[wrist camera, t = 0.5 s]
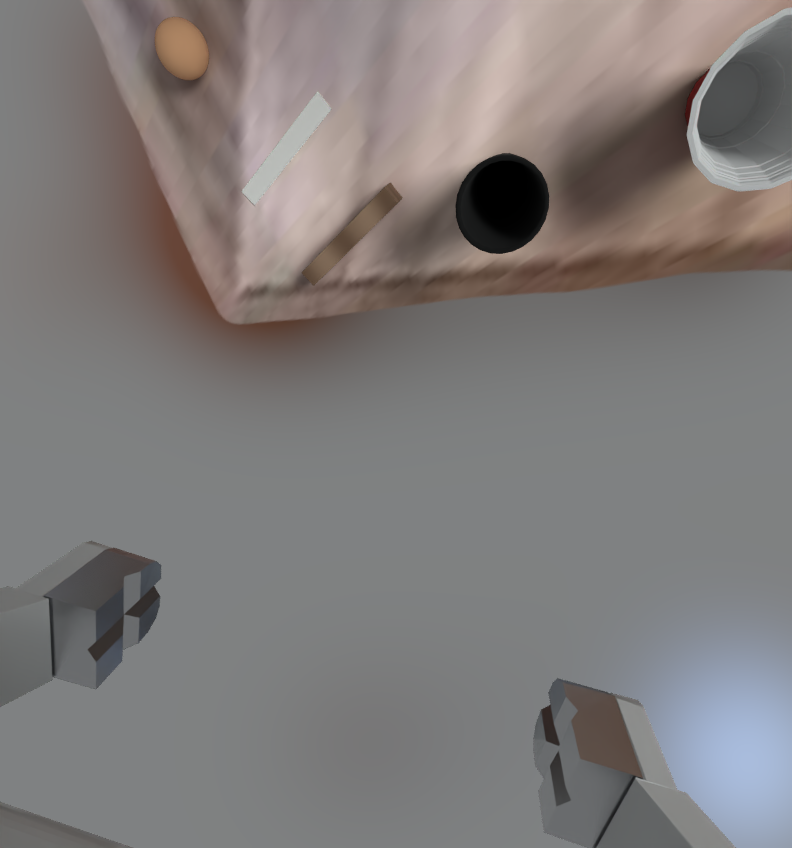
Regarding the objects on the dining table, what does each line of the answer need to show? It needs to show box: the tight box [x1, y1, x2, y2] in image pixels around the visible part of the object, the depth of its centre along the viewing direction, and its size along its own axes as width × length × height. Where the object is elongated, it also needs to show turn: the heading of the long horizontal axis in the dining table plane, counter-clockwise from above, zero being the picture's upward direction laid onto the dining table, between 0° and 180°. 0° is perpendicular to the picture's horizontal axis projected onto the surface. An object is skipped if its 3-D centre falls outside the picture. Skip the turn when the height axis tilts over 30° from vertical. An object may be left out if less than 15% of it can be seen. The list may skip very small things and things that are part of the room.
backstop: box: [302, 183, 402, 286], centre depth 53 cm, size 14×2×3 cm, turn 133°
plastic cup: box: [685, 8, 792, 191], centre depth 37 cm, size 11×11×12 cm
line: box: [242, 91, 331, 205], centre depth 51 cm, size 14×2×1 cm, turn 133°
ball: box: [155, 17, 209, 80], centre depth 45 cm, size 5×5×5 cm
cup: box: [456, 153, 549, 254], centre depth 44 cm, size 8×8×12 cm
